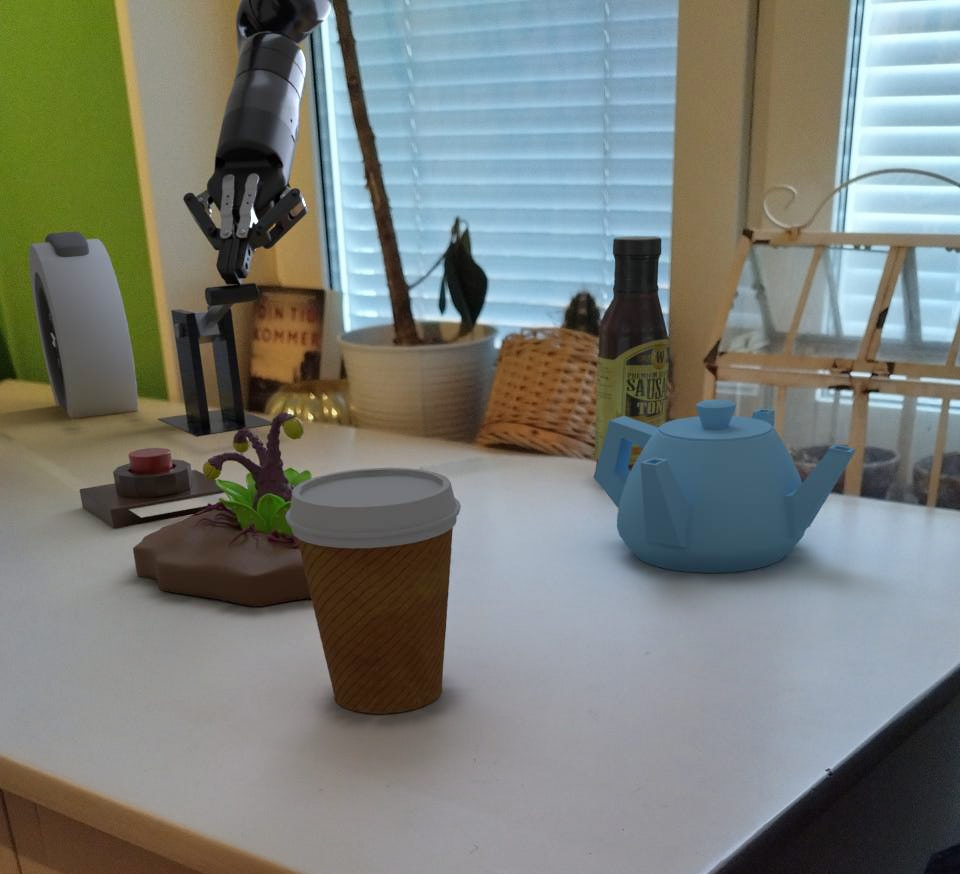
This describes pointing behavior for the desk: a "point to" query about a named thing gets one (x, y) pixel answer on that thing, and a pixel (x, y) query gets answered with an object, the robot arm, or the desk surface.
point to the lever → (221, 307)
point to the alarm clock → (82, 326)
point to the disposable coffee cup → (378, 581)
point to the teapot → (712, 489)
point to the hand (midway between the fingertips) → (230, 278)
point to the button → (150, 460)
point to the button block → (146, 494)
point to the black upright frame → (194, 387)
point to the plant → (236, 532)
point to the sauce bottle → (632, 343)
